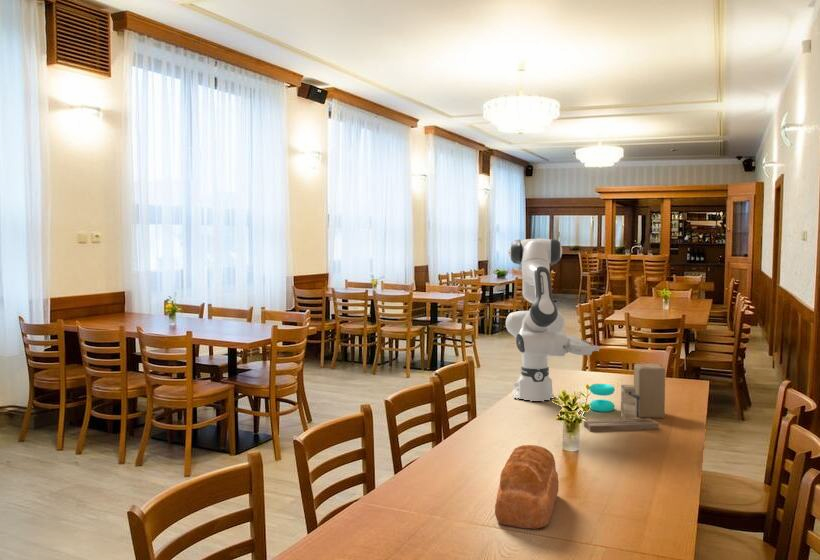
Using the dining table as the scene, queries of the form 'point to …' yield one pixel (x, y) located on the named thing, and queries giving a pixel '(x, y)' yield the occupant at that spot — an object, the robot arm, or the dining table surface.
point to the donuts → (600, 403)
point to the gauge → (629, 402)
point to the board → (621, 425)
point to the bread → (527, 488)
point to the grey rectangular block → (650, 390)
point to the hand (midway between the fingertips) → (593, 345)
